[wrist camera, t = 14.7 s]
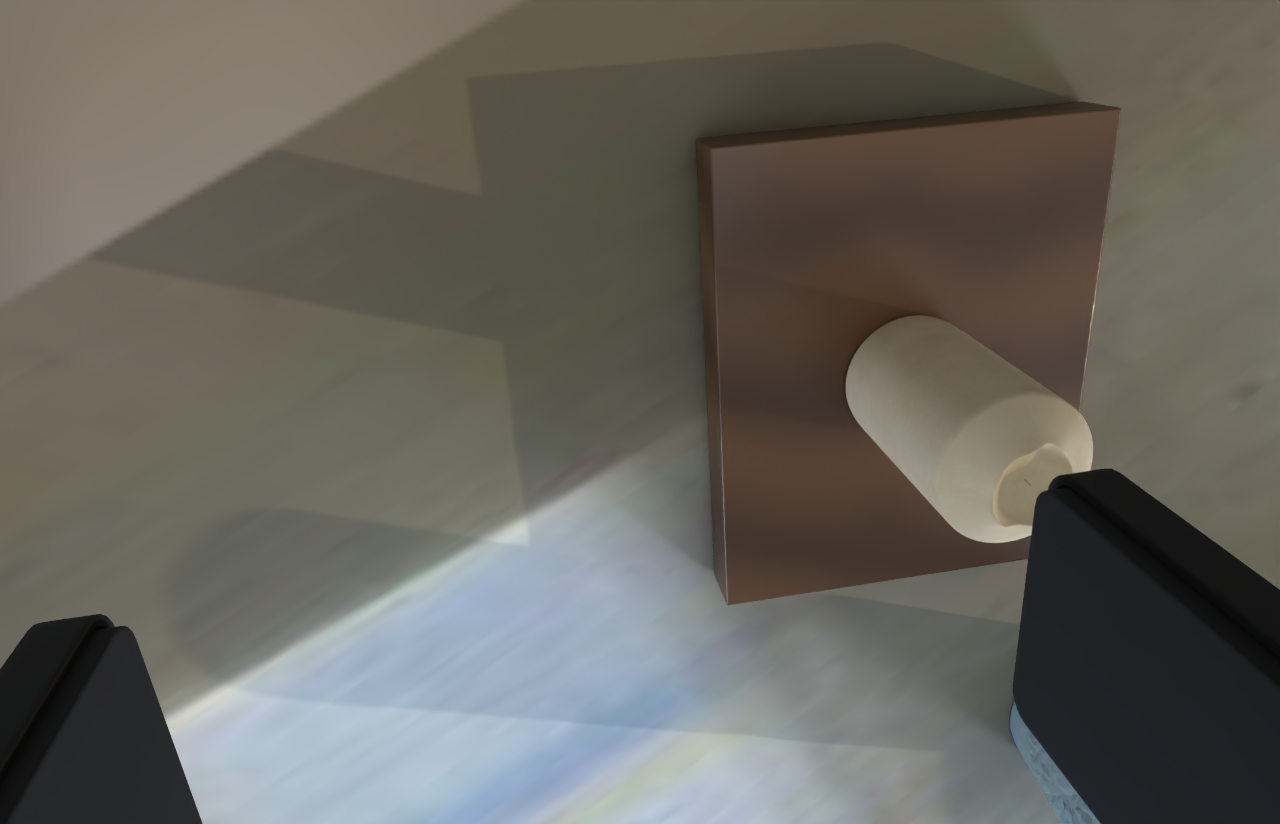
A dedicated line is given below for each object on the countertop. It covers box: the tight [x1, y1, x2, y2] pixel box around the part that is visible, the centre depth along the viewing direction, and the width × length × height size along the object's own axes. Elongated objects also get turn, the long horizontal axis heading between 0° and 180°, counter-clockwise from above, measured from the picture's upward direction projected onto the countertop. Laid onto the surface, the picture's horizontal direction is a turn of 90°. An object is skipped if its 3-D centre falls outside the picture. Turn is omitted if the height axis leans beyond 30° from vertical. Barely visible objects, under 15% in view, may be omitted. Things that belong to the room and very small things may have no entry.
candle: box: [846, 315, 1093, 543], centre depth 34 cm, size 6×6×10 cm
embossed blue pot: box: [1010, 701, 1100, 824], centre depth 46 cm, size 10×10×12 cm
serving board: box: [696, 102, 1121, 605], centre depth 40 cm, size 20×16×2 cm
